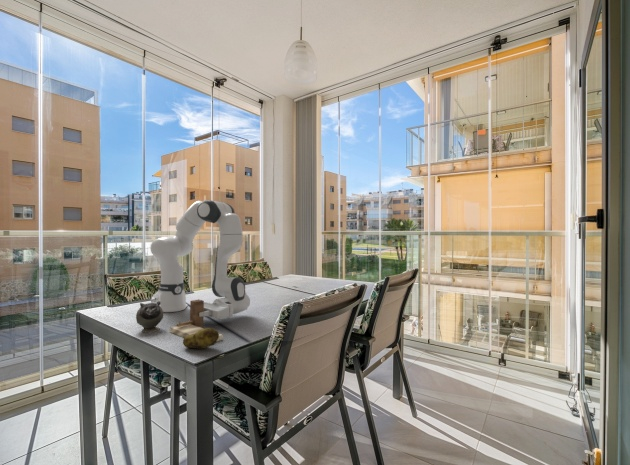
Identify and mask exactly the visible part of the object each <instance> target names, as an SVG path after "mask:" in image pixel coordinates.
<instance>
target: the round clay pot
mask: <svg viewBox="0 0 630 465" xmlns="http://www.w3.org/2000/svg"><path fill="white" fill-rule="evenodd" d="M139 303H140V304H139V305H140V308H138V310H137V311H136V314H135V315H136V316H135V319H136V320H135V321H136V322H137V324H138V325H139V326H141V327H142V329H141V330H142V331H143V332H142V331H141V332H142V333H155V332H157V331H159V330H161V328H160V327H158V325H159V324H160V323H161V322H162V320H163V319H164V312H163V310H162V308H161V307H160V306H159V305H160V303H161V302H160V301H159V302H157V304H156V303H151V302H150V303H149V302H148V303H143V302H139Z"/></svg>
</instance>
